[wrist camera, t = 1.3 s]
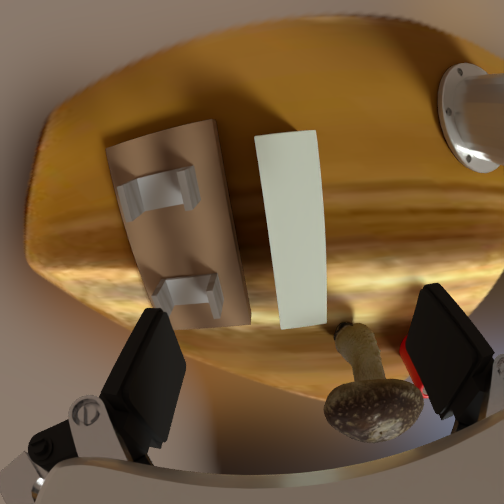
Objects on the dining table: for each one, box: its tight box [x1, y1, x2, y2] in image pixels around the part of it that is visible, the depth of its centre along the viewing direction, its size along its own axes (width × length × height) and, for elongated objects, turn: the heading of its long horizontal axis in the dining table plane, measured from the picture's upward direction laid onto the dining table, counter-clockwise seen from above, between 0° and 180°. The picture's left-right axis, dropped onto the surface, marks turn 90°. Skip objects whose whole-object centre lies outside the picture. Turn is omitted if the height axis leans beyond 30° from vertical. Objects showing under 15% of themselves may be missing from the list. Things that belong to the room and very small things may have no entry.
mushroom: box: [324, 322, 424, 443], centre depth 23 cm, size 9×9×15 cm
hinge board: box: [106, 119, 251, 330], centre depth 23 cm, size 10×20×5 cm, turn 9°
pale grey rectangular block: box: [254, 130, 327, 329], centre depth 21 cm, size 4×14×8 cm, turn 9°
